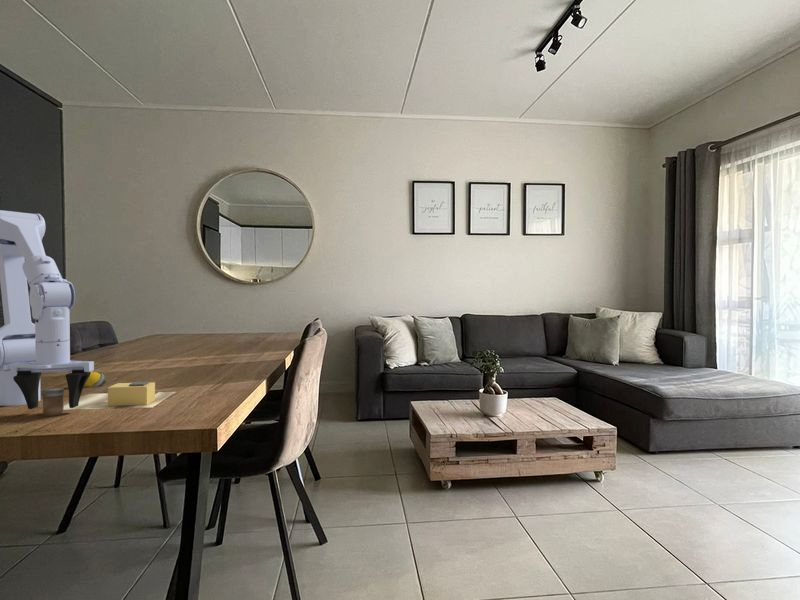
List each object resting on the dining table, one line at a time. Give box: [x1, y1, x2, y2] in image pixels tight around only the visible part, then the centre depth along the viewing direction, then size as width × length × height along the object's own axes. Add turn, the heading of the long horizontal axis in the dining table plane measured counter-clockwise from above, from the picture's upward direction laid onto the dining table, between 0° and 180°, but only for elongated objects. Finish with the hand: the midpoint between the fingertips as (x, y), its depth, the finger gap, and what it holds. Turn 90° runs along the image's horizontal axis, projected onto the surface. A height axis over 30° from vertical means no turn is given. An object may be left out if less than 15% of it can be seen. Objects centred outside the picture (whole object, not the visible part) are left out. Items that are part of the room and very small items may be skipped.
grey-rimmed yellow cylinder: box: [83, 370, 107, 388], centre depth 126 cm, size 5×5×10 cm
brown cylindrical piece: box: [41, 387, 65, 417], centre depth 98 cm, size 4×4×6 cm
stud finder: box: [107, 381, 156, 406], centre depth 108 cm, size 8×5×4 cm, turn 98°
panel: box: [64, 391, 176, 411], centre depth 111 cm, size 20×16×1 cm
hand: (53, 407), depth 98 cm, fingers open, 7 cm apart
